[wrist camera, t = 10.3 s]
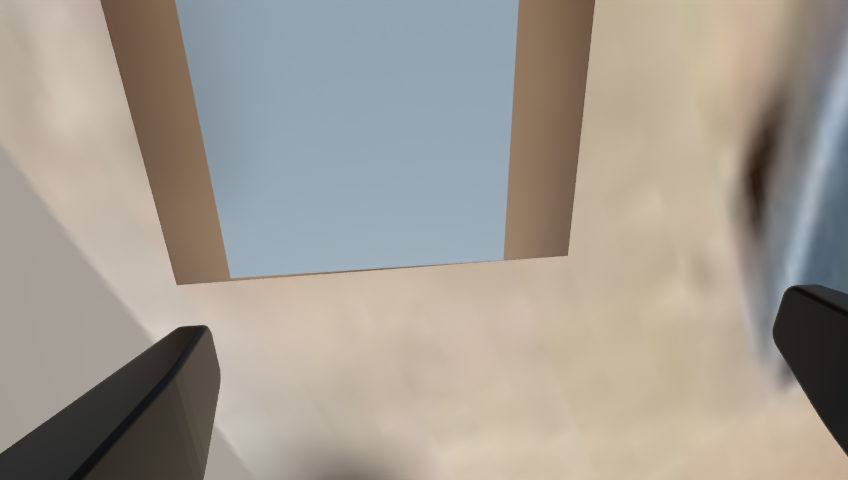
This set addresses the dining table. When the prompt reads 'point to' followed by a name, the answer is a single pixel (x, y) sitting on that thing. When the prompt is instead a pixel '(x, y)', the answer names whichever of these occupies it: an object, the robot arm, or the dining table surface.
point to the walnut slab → (206, 262)
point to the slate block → (354, 129)
